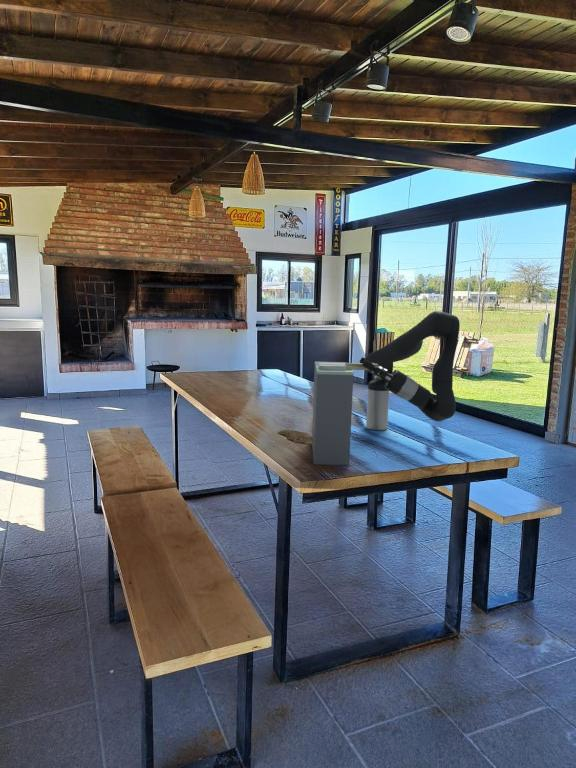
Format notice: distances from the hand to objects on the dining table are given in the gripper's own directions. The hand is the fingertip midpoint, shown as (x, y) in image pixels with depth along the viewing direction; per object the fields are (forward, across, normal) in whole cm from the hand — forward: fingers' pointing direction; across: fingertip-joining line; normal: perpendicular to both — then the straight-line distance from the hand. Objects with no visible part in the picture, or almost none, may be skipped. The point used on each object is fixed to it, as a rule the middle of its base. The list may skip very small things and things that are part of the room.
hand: (362, 361), depth 187 cm
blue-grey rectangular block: (-9, -6, +35) cm, 37 cm away
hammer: (+3, 0, +5) cm, 6 cm away
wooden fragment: (0, -27, +41) cm, 49 cm away
